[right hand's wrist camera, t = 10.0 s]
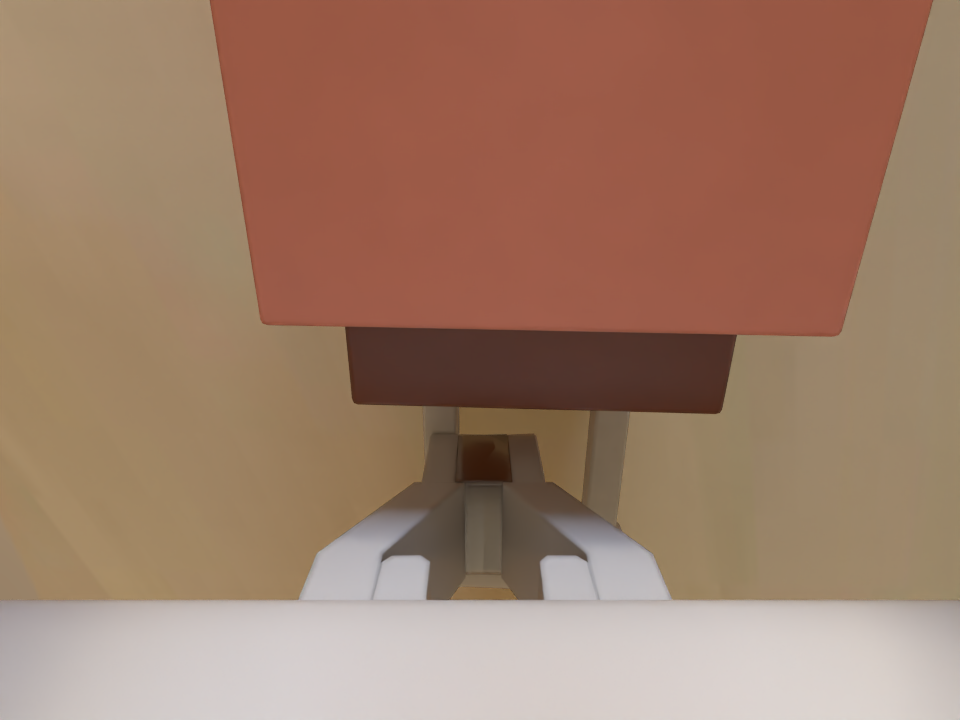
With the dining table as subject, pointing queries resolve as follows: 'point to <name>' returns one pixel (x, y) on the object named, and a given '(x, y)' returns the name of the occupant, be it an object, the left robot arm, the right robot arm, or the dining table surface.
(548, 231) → the long terracotta box
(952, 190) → the dining table surface
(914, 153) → the dining table surface
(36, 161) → the dining table surface
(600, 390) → the drawer
